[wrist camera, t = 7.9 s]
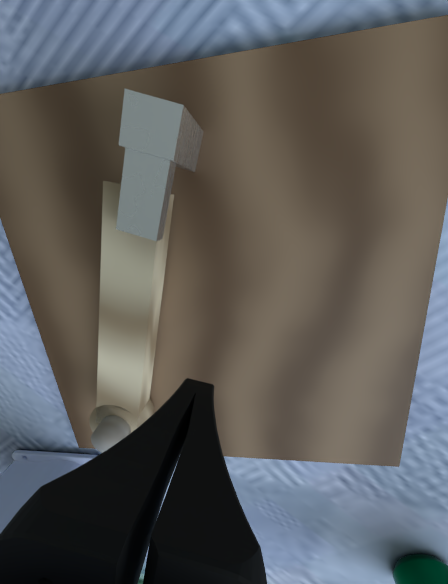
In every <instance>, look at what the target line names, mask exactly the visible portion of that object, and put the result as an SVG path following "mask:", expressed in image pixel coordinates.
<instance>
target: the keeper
mask: <svg viewBox="0 0 448 584" xmlns="http://www.w3.org/2000/svg"><path fill="white" fill-rule="evenodd" d="M202 137H203V130H202V129H201V128H200V126H199V125H198V124H197V122H196V121H195V120H194V118H193V117H192V116H191V114H190V113H189V112H188V110H187V109H186V108H185V106H184V105H182V104H178V103H175V102H171V101H168V100H164V99H160V98H157V97H153V96H150V95H146V94H142V93H139V92H135V91H132V90H128V89H125V90H124V99H123V108H122V118H121V127H120V136H119V146H122V147H124V148H125V156H124V164H123V173H122V181H121V190H120V198H119V207H118V215H117V224H116V229H117V230H120V231H123V232H127V233H130V234H133V235H137V236H140V237H143V238H147V239H150V240H153V241H159V240H161V239H162V238H163V233H164V227H165V222H166V216H167V211H168V206H169V200H170V195H171V189H172V184H173V178H174V173H175V167H179V168H182V169H186V170H189V171H193V172H195V170H196V165H197V161H198V156H199V151H200V146H201V142H202Z"/></svg>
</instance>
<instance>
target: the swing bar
mask: <svg viewBox="0 0 448 584" xmlns="http://www.w3.org/2000/svg"><path fill="white" fill-rule="evenodd" d="M120 190H121V183H115V182H108V181H103V202H102V235H101V269H100V302H99V336H98V369H97V402H96V408H95V409H94V410H93V411H92V413H91V415H90V418H89V424H90V427H91V430H92V432H93V433H92V435H91V442H92V444H93V446H94V447H95V448H96V449H97V450H98V451H100V452H101V453H103V452H104V451H106V450H108V449H109V448H111V447H112V446H114V445H115V444H116V443H118V442H119V441H121V440H122V439H123V438H125V437H126V436H128V435H129V434H130V433H131V432H133V431H134V430H135V429H137V428H138V427H139V426H140V425H141V424H143V423H144V422H145V421H146V420H147V419H148V418H150V417H151V416H152V415H153V414H154V406H153V403H152V401H151V400H150V390H151V382H152V374H153V366H154V357H155V349H156V341H157V332H158V324H159V316H160V307H161V299H162V291H163V283H164V274H165V266H166V258H167V249H168V241H169V233H170V225H171V216H172V208H173V200H174V194H171V195H170V200H169V206H168V211H167V216H166V222H165V227H164V233H163V238H162V239H161V240H159V241H153V240H150V239H147V238H143V237H140V236H137V235H133V234H130V233H127V232H123V231H120V230H117V229H116V224H117V215H118V207H119V198H120Z"/></svg>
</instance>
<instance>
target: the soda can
mask: <svg viewBox="0 0 448 584" xmlns="http://www.w3.org/2000/svg"><path fill="white" fill-rule="evenodd" d="M393 578H394V581H395V584H448V565H446V564H445V563H444V562H443V561H441V560H440V559H438V558H436V557H434V556H431V555H426V554H411V555H407V556H404V557H402V558H401V559H399V560H398V561H397V562H396V564H395V567H394V571H393Z"/></svg>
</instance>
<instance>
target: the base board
mask: <svg viewBox="0 0 448 584" xmlns="http://www.w3.org/2000/svg"><path fill="white" fill-rule="evenodd" d="M125 89H128V90H132V91H135V92H139V93H142V94H146V95H150V96H153V97H157V98H160V99H164V100H168V101H171V102H175V103H178V104H182V105H184V106H185V108H186V109H187V110H188V112H189V113H190V114H191V116H192V117H193V118H194V120H195V121H196V122H197V124H198V125H199V126H200V128H201V129H202V130H203V137H202V142H201V146H200V151H199V156H198V161H197V165H196V170H195V172H193V171H189V170H186V169H182V168H179V167H175V173H174V178H173V184H172V189H171V194H174V200H173V208H172V216H171V225H170V233H169V241H168V249H167V258H166V266H165V274H164V283H163V291H162V299H161V307H160V316H159V324H158V332H157V341H156V349H155V357H154V366H153V374H152V382H151V390H150V400H151V401H152V403H153V406H154V413H155V412H156V411H157V410H158V409H159V408H160V407H161V406H162V405H163V404H164V403H165V402H166V401H167V400H168V399H169V398H170V397H171V396H172V395H173V394H174V393H175V391H176V390H177V389H178V388H179V387H180V385H181V384H182V383H183V381H184V380H185V379H187V378H190V379H194V380H198V381H202V382H206V383H210V384H213V385H214V411H215V418H216V425H217V431H218V436H219V441H220V445H221V449H222V453H223V456H228V457H245V458H262V459H279V460H296V461H313V462H329V463H346V464H363V465H380V466H397V467H399V465H400V459H401V454H402V448H403V443H404V437H405V431H406V426H407V420H408V415H409V409H410V404H411V398H412V393H413V387H414V381H415V376H416V370H417V365H418V359H419V354H420V348H421V343H422V337H423V332H424V326H425V320H426V315H427V309H428V304H429V298H430V293H431V287H432V282H433V276H434V270H435V265H436V259H437V254H438V248H439V243H440V237H441V232H442V226H443V220H444V215H445V209H446V204H447V198H448V15H445V16H439V17H434V18H428V19H422V20H417V21H411V22H405V23H400V24H394V25H388V26H383V27H377V28H371V29H366V30H360V31H354V32H349V33H343V34H337V35H332V36H326V37H320V38H315V39H309V40H303V41H298V42H292V43H286V44H281V45H275V46H269V47H264V48H258V49H252V50H247V51H241V52H235V53H230V54H224V55H218V56H213V57H207V58H201V59H196V60H190V61H184V62H179V63H173V64H167V65H162V66H156V67H150V68H145V69H139V70H133V71H128V72H122V73H117V74H111V75H105V76H100V77H94V78H88V79H83V80H77V81H71V82H66V83H60V84H54V85H49V86H43V87H37V88H32V89H26V90H20V91H15V92H9V93H3V94H0V218H1V221H2V224H3V227H4V230H5V233H6V236H7V239H8V242H9V245H10V247H11V250H12V253H13V256H14V259H15V262H16V265H17V268H18V271H19V274H20V277H21V280H22V283H23V285H24V288H25V291H26V294H27V297H28V300H29V303H30V306H31V309H32V312H33V315H34V318H35V321H36V323H37V326H38V329H39V332H40V335H41V338H42V341H43V344H44V347H45V350H46V353H47V356H48V359H49V361H50V364H51V367H52V370H53V373H54V376H55V379H56V382H57V385H58V388H59V391H60V394H61V396H62V399H63V402H64V405H65V408H66V411H67V414H68V417H69V420H70V423H71V426H72V429H73V432H74V434H75V437H76V440H77V443H78V446H79V448H93V449H96V448H95V447H94V446H93V444H92V442H91V435H92V433H93V432H92V430H91V427H90V424H89V418H90V415H91V413H92V411H93V410H94V409H95V408H96V402H97V369H98V336H99V302H100V269H101V235H102V202H103V181H108V182H115V183H121V181H122V173H123V164H124V156H125V148H124V147H122V146H119V136H120V127H121V118H122V108H123V99H124V90H125Z"/></svg>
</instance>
